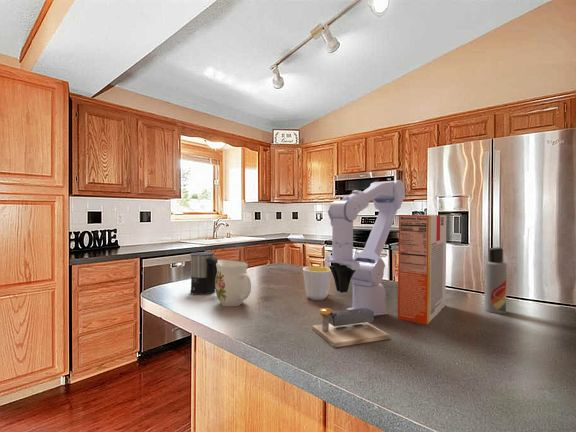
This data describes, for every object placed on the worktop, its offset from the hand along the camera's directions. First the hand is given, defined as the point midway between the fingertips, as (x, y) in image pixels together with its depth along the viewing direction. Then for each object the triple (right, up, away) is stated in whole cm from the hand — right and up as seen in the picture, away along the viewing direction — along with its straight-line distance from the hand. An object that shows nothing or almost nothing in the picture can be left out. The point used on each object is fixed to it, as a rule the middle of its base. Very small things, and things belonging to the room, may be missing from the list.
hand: (342, 291), depth 91 cm
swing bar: (0, -6, -8) cm, 10 cm away
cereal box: (+27, -9, +10) cm, 30 cm away
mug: (-4, -8, +26) cm, 27 cm away
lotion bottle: (+50, -9, +11) cm, 52 cm away
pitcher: (-33, -8, +16) cm, 38 cm away
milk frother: (-44, -8, +34) cm, 57 cm away
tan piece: (0, -9, -9) cm, 13 cm away
